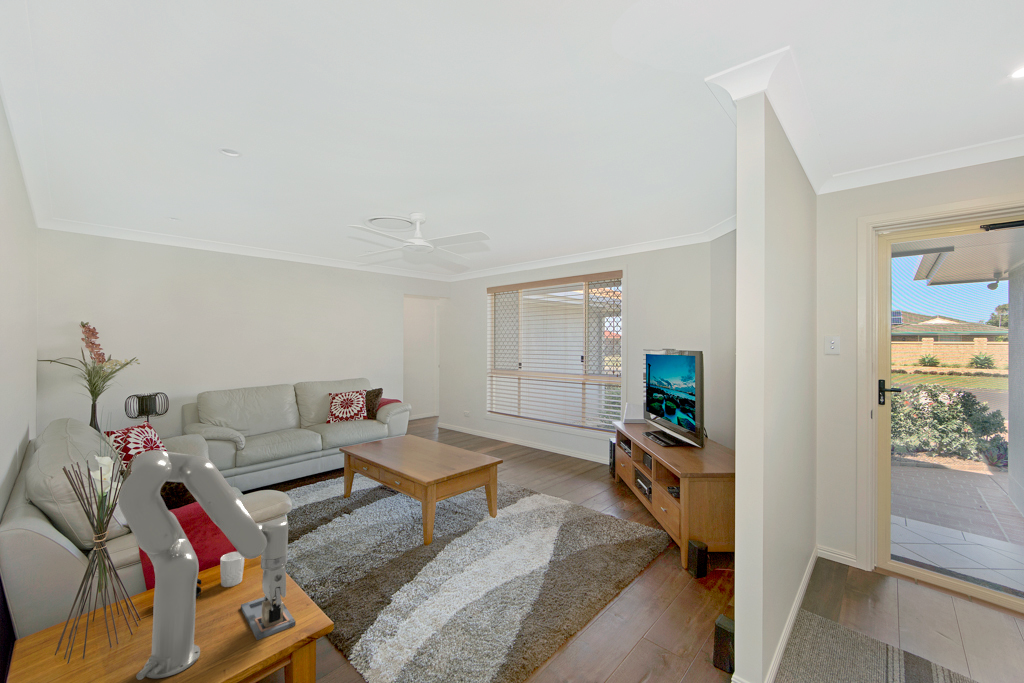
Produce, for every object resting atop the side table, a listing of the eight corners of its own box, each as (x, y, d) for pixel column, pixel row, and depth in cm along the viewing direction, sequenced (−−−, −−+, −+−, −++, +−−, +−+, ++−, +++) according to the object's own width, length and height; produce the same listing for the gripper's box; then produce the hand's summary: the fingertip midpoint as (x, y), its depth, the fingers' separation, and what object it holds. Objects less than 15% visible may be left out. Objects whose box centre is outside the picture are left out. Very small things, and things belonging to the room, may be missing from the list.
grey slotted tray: (295, 626, 140) (295, 620, 140) (257, 641, 132) (257, 635, 132) (275, 597, 156) (276, 592, 156) (240, 608, 148) (240, 603, 148)
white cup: (248, 578, 168) (249, 552, 168) (233, 589, 160) (234, 561, 161) (229, 576, 169) (230, 550, 169) (214, 587, 161) (215, 560, 161)
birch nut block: (282, 621, 140) (283, 602, 140) (265, 628, 136) (266, 608, 136) (278, 614, 143) (279, 596, 144) (261, 620, 140) (262, 602, 140)
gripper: (294, 566, 137) (292, 624, 136) (279, 547, 149) (277, 601, 149) (268, 574, 132) (266, 634, 131) (254, 554, 144) (252, 609, 143)
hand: (271, 616), depth 140 cm, fingers closed on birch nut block, 5 cm apart
